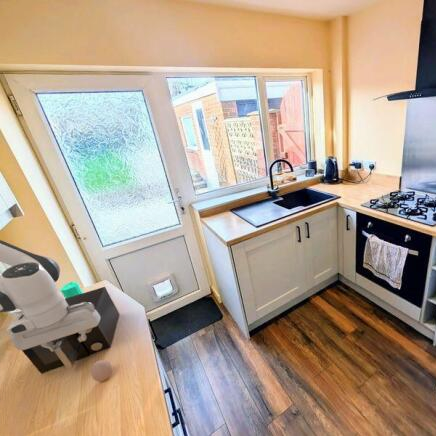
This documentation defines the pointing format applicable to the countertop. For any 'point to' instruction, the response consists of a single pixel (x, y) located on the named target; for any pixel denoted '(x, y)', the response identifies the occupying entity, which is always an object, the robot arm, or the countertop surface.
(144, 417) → the countertop surface
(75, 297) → the microwave
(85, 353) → the microwave door
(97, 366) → the egg
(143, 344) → the countertop surface
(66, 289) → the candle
